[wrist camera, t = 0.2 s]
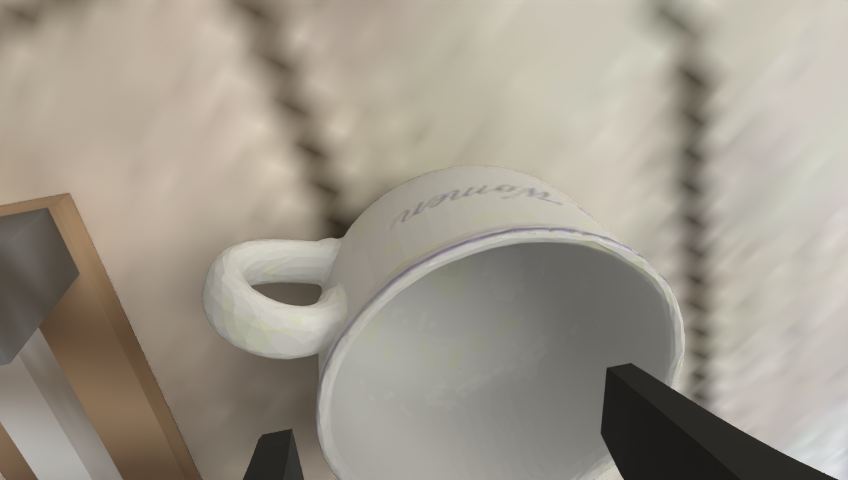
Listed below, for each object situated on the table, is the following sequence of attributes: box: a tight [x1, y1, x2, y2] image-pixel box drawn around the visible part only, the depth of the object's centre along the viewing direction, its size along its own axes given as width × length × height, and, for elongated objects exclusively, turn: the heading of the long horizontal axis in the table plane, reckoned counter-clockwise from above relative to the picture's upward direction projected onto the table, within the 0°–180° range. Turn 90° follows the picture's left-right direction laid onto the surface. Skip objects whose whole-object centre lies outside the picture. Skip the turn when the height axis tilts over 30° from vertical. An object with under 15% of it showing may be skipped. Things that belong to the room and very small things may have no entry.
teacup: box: [202, 166, 685, 480], centre depth 18 cm, size 14×11×8 cm
